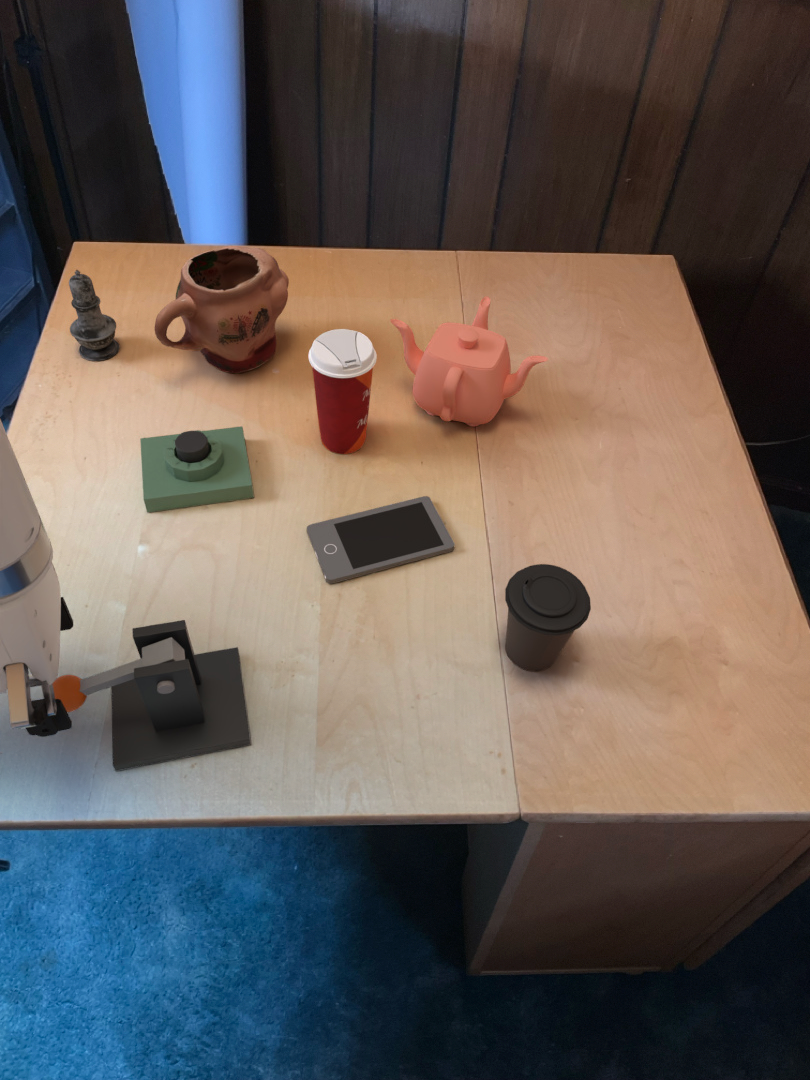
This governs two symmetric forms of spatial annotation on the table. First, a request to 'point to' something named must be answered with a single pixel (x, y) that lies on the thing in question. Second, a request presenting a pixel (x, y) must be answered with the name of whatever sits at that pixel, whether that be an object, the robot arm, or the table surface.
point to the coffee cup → (543, 614)
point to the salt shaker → (91, 322)
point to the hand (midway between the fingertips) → (53, 676)
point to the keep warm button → (192, 446)
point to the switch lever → (113, 674)
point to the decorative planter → (228, 307)
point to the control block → (195, 471)
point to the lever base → (178, 703)
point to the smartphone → (379, 539)
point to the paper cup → (342, 387)
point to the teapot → (463, 370)
